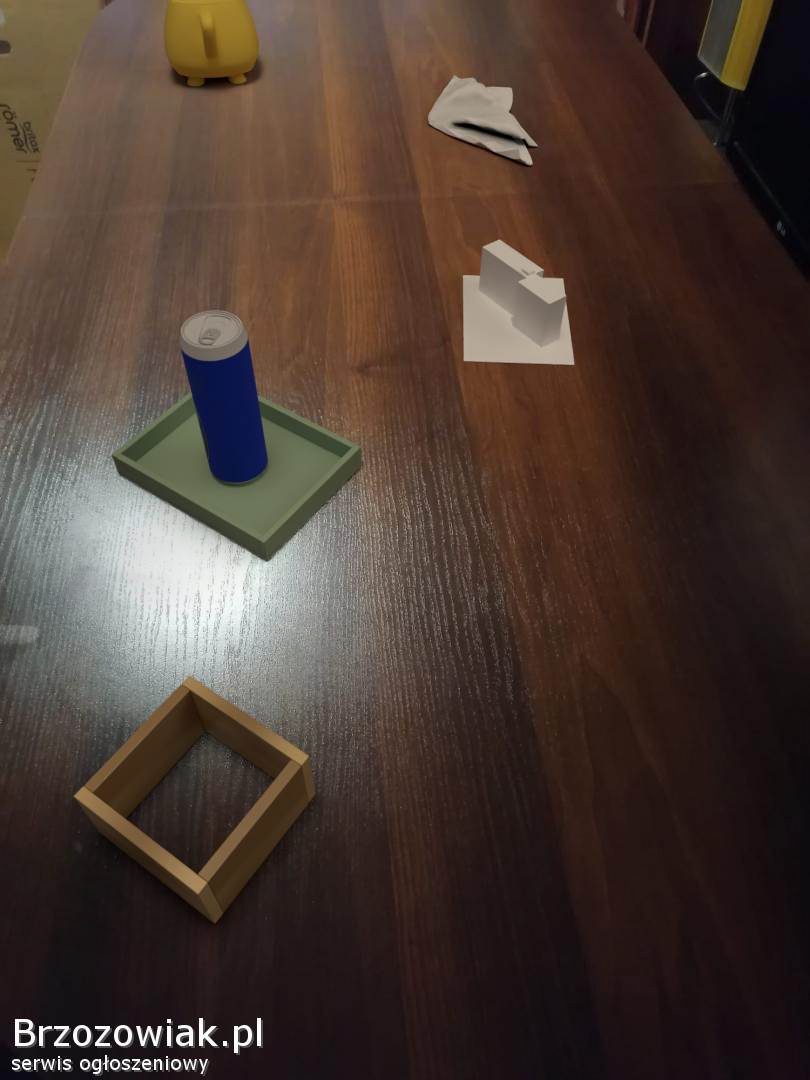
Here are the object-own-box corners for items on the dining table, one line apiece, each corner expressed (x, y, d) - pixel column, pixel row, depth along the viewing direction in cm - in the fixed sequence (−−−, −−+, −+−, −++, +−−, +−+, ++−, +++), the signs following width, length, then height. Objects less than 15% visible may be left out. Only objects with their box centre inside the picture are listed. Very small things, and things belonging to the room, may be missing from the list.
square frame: (99, 832, 56) (73, 796, 52) (204, 717, 62) (189, 674, 57) (215, 924, 53) (197, 894, 48) (316, 793, 58) (309, 755, 54)
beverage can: (221, 441, 78) (191, 303, 67) (275, 450, 78) (255, 312, 66) (201, 482, 75) (166, 345, 64) (258, 491, 75) (233, 354, 63)
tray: (118, 474, 76) (111, 454, 75) (218, 392, 83) (214, 372, 81) (267, 561, 71) (263, 542, 69) (362, 466, 77) (361, 446, 76)
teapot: (257, 40, 135) (247, -52, 125) (265, 97, 123) (254, 0, 113) (170, 44, 133) (153, -49, 124) (169, 103, 121) (150, 5, 111)
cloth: (417, 80, 127) (417, 64, 125) (509, 77, 128) (511, 61, 126) (440, 170, 110) (441, 153, 109) (545, 166, 111) (548, 149, 110)
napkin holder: (461, 275, 96) (464, 228, 92) (562, 277, 96) (571, 231, 92) (463, 362, 87) (467, 314, 82) (576, 364, 87) (586, 317, 82)
